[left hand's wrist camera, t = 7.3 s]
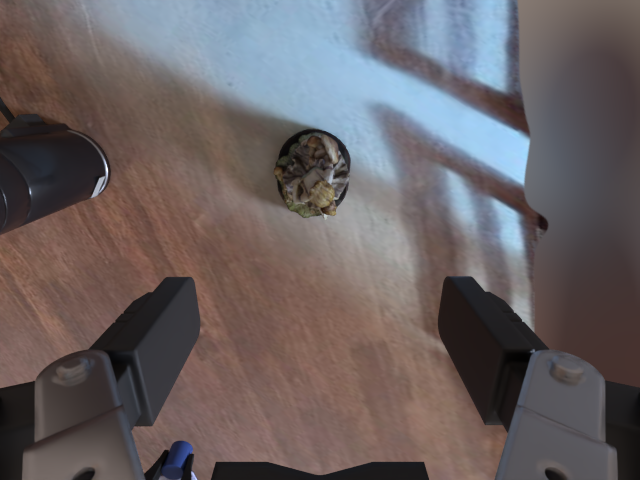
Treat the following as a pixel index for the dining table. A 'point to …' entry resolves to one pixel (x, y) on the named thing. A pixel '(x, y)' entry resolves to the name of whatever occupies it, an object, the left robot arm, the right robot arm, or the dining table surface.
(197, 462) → the dining table surface
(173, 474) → the can
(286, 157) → the figurine
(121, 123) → the dining table surface
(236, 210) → the dining table surface
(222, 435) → the dining table surface
